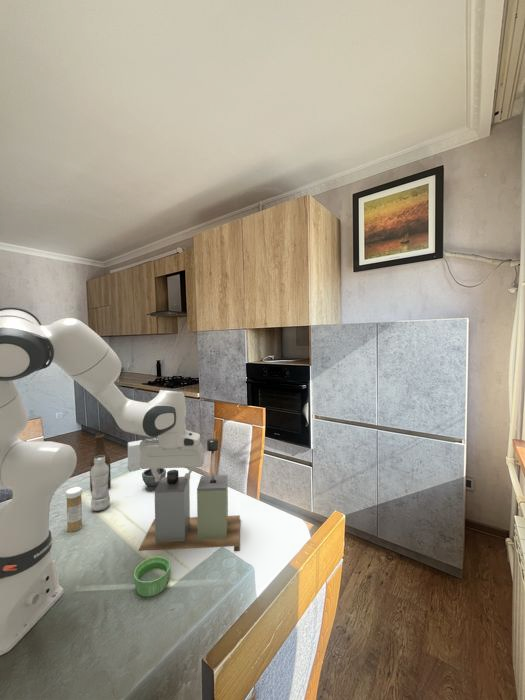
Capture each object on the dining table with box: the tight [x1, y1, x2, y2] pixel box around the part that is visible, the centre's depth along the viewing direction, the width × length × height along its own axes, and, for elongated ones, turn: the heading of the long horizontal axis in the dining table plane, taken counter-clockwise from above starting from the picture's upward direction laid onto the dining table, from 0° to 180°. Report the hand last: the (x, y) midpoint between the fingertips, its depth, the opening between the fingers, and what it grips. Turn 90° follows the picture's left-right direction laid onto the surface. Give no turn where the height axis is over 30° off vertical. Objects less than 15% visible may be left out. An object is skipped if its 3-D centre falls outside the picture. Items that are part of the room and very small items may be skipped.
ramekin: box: [133, 555, 171, 598], centre depth 78 cm, size 9×9×4 cm
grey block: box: [154, 476, 191, 542], centre depth 97 cm, size 9×9×16 cm
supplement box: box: [127, 439, 144, 472], centre depth 152 cm, size 7×7×13 cm
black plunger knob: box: [206, 437, 219, 483], centre depth 97 cm, size 7×7×19 cm
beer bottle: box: [89, 433, 112, 493], centre depth 128 cm, size 8×8×24 cm
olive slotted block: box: [196, 474, 229, 540], centre depth 97 cm, size 9×9×16 cm
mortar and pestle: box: [141, 468, 167, 492], centre depth 130 cm, size 11×9×12 cm
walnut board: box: [138, 515, 241, 552], centre depth 97 cm, size 16×30×2 cm, turn 94°
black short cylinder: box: [166, 469, 180, 485], centre depth 97 cm, size 7×7×19 cm
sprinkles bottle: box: [65, 486, 83, 533], centre depth 101 cm, size 5×5×13 cm
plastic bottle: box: [89, 455, 111, 512], centre depth 114 cm, size 6×7×20 cm
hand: (172, 480), depth 96 cm, fingers open, 8 cm apart
